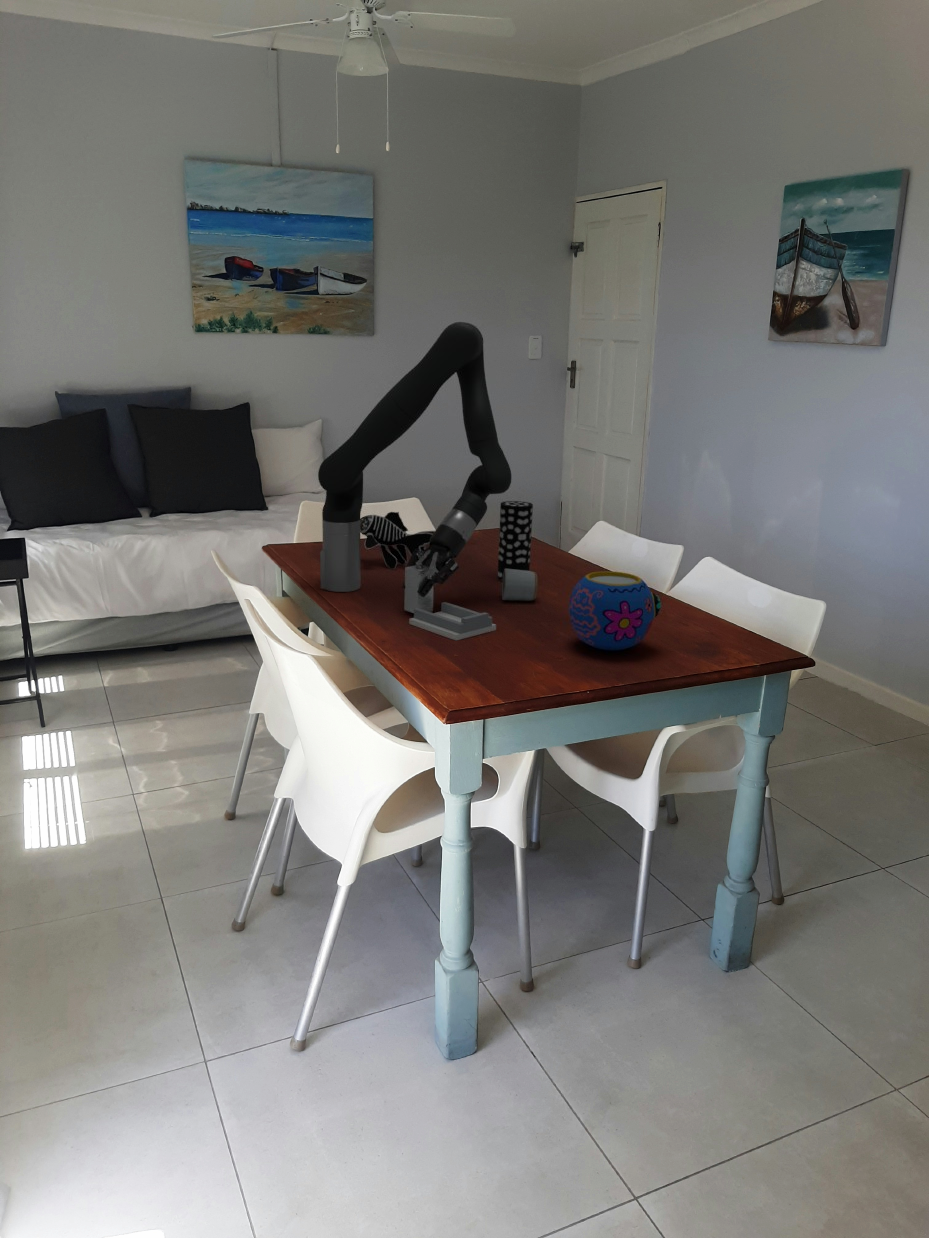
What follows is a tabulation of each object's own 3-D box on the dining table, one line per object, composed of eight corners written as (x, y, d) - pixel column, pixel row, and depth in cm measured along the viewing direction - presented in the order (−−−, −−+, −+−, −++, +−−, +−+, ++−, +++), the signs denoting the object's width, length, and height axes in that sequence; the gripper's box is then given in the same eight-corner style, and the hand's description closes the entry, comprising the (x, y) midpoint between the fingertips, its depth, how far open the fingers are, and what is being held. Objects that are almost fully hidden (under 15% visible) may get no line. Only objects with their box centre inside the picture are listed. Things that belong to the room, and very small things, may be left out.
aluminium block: (404, 609, 221) (405, 565, 218) (419, 606, 224) (420, 562, 221) (417, 614, 218) (418, 569, 215) (432, 611, 221) (434, 566, 218)
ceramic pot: (669, 652, 200) (676, 582, 196) (602, 665, 191) (608, 592, 187) (613, 630, 214) (618, 564, 210) (549, 641, 205) (553, 572, 201)
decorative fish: (366, 544, 276) (376, 494, 270) (447, 575, 267) (459, 524, 262) (337, 555, 262) (346, 502, 257) (421, 588, 253) (433, 534, 248)
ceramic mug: (537, 604, 233) (539, 573, 230) (503, 603, 232) (504, 572, 230) (532, 593, 243) (533, 563, 241) (499, 592, 242) (500, 562, 240)
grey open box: (409, 624, 214) (409, 605, 213) (449, 614, 222) (449, 596, 221) (456, 640, 203) (456, 621, 202) (496, 629, 211) (496, 611, 210)
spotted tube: (492, 580, 253) (496, 504, 247) (503, 573, 260) (507, 500, 255) (523, 584, 250) (526, 507, 244) (533, 577, 257) (537, 503, 252)
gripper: (424, 518, 226) (383, 576, 221) (467, 528, 216) (425, 589, 211) (440, 538, 231) (400, 595, 226) (482, 549, 221) (442, 608, 216)
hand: (412, 592), depth 219 cm, fingers closed on aluminium block, 4 cm apart
